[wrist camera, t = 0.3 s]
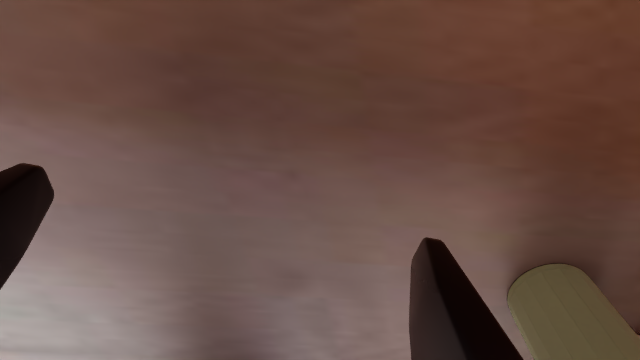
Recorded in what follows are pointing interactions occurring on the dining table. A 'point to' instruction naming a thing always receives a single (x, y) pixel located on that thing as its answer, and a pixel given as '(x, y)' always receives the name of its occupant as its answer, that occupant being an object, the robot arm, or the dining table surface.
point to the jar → (569, 317)
